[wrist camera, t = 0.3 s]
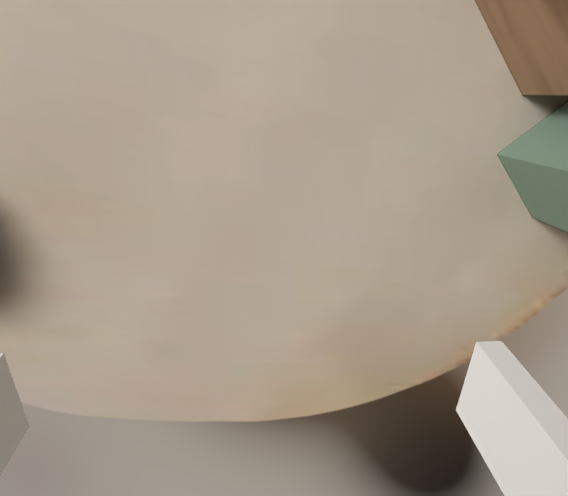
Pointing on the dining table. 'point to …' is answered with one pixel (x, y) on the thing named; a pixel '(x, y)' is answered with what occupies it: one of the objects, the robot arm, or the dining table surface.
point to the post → (542, 168)
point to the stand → (531, 42)
